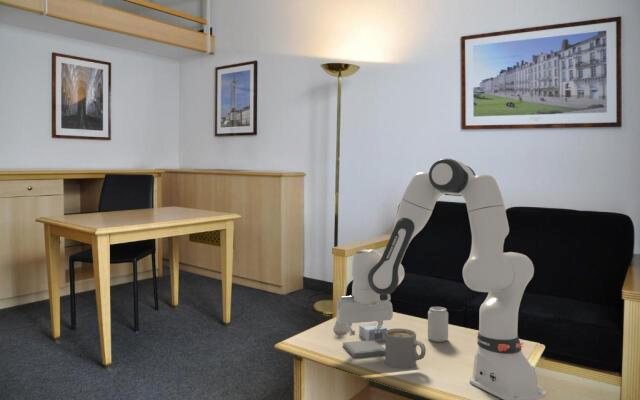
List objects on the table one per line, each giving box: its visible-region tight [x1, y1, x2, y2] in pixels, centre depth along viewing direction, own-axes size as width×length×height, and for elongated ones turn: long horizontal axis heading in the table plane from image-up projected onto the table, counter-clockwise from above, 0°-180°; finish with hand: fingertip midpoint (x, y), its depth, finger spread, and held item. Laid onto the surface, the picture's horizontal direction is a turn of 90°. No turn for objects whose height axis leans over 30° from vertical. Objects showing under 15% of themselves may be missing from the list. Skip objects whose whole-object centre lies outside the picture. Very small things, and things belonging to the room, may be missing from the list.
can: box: [427, 306, 449, 343], centre depth 190 cm, size 8×8×12 cm
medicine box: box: [358, 322, 388, 342], centre depth 192 cm, size 8×4×9 cm
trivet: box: [342, 340, 385, 359], centre depth 178 cm, size 12×12×2 cm
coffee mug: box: [384, 327, 427, 369], centre depth 164 cm, size 13×10×10 cm
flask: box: [332, 319, 349, 334], centre depth 199 cm, size 7×7×10 cm
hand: (364, 334), depth 177 cm, fingers open, 8 cm apart
